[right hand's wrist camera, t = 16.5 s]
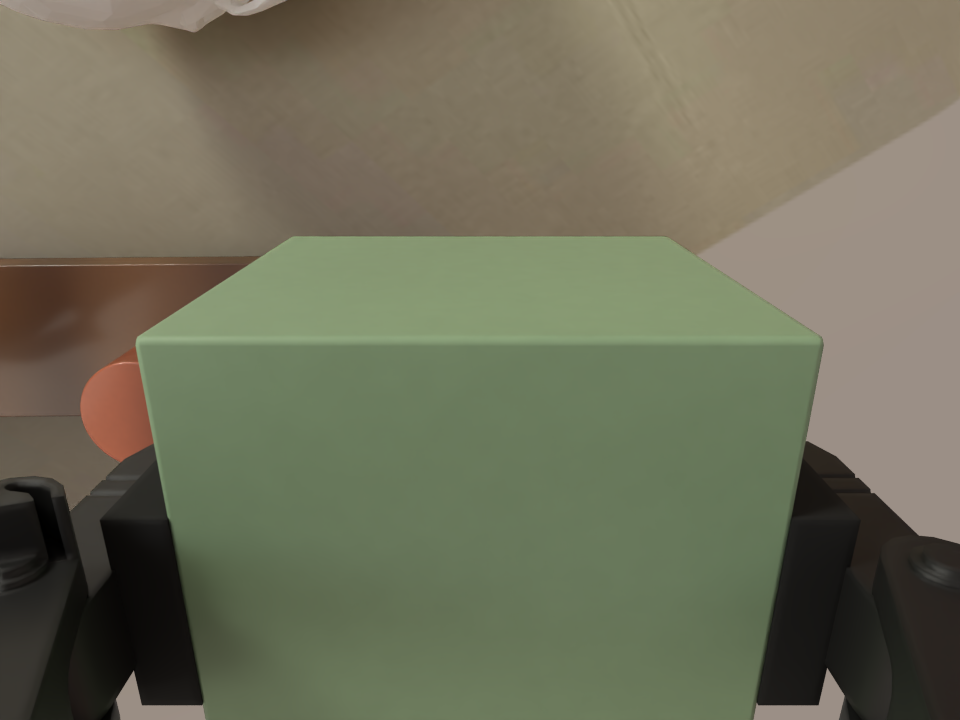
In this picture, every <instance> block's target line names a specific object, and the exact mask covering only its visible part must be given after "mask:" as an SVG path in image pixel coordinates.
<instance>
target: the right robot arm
mask: <svg viewBox="0 0 960 720" xmlns="http://www.w3.org/2000/svg"><path fill="white" fill-rule="evenodd" d="M827 668H828V670H829V671H830V673H831V674H832V676H833V677H834V679H835V681H836V682H837V684H838V685H839V687H840V689H841V690H842V692H843V693H844V695H845V698H844V702H843V706H842V710H841V714H840V718H839V720H960V544H958V543H954V542H950V541H946V540H942V539H938V538H935V537H926V536H919V535H917V534H916V533H915V532H914V531H913V530H912V529H911V528H910V527H909V526H908V525H907V524H906V523H905V522H904V521H903V520H902V519H901V518H900V517H899V516H898V515H897V514H896V513H895V512H894V511H892V510H891V509H890V508H889V507H888V506H887V505H886V504H885V503H884V502H883V501H882V500H881V499H880V498H879V497H878V496H877V495H876V494H875V493H871V492H870V488H869V487H867V486H866V485H865V484H864V483H863V482H862V481H861V480H860V479H859V478H855V474H854V473H853V472H852V471H851V470H850V469H849V468H848V467H847V466H846V465H845V464H844V463H842V462H841V461H840V460H839V459H838V458H837V457H836V456H834V455H832V454H830V453H829V452H827V451H825V450H823V449H821V448H819V447H817V446H816V445H814V444H812V443H810V442H808V441H806V442H805V447H804V453H803V458H802V463H801V469H800V474H799V479H798V484H797V490H796V495H795V500H794V506H793V511H792V516H791V522H790V527H789V532H788V538H787V543H786V548H785V554H784V559H783V564H782V570H781V575H780V580H779V586H778V591H777V596H776V602H775V607H774V612H773V617H772V623H771V628H770V633H769V639H768V644H767V649H766V655H765V660H764V665H763V671H762V676H761V681H760V687H759V692H758V697H757V704H758V705H819V701H820V696H821V692H822V687H823V683H824V679H825V675H826V670H827ZM133 671H134V672H135V677H136V681H137V686H138V690H139V694H140V699H141V703H142V705H202V704H203V698H202V693H201V688H200V682H199V677H198V672H197V666H196V661H195V656H194V650H193V645H192V640H191V635H190V629H189V624H188V619H187V613H186V608H185V603H184V597H183V592H182V587H181V581H180V576H179V571H178V565H177V560H176V555H175V549H174V544H173V539H172V533H171V528H170V523H169V518H168V516H167V511H166V505H165V500H164V495H163V490H162V484H161V479H160V474H159V468H158V463H157V458H156V452H155V447H154V444H151V445H150V446H148V447H146V448H144V449H142V450H140V451H138V452H137V453H135V454H133V455H131V456H129V457H127V458H125V459H124V460H123V461H122V462H121V463H120V464H119V465H118V466H117V467H116V468H115V469H114V470H113V471H112V472H111V473H110V474H109V475H108V476H106V480H102V481H101V482H100V483H99V484H98V485H97V486H96V487H95V488H94V489H93V490H92V491H91V495H90V496H86V497H85V498H84V499H83V500H82V501H81V502H80V503H79V504H78V505H77V506H75V507H74V508H73V509H72V510H71V511H69V507H68V503H67V499H66V495H65V491H64V487H63V485H62V484H60V483H59V482H57V481H55V480H54V479H51V478H44V477H36V476H31V477H17V478H8V479H4V480H0V720H120V714H119V710H118V706H117V702H116V698H117V696H118V695H119V693H120V691H121V690H122V688H123V687H124V685H125V683H126V682H127V680H128V679H129V677H130V675H131V674H132V672H133Z"/></svg>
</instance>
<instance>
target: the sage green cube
mask: <svg viewBox="0 0 960 720" xmlns="http://www.w3.org/2000/svg"><path fill="white" fill-rule="evenodd" d="M135 346H136V351H137V357H138V362H139V367H140V373H141V378H142V383H143V389H144V394H145V399H146V405H147V410H148V415H149V420H150V426H151V431H152V436H153V442H154V447H155V452H156V458H157V463H158V468H159V474H160V479H161V484H162V490H163V495H164V500H165V505H166V511H167V516H168V518H169V523H170V528H171V533H172V539H173V544H174V549H175V555H176V560H177V565H178V571H179V576H180V581H181V587H182V592H183V597H184V603H185V608H186V613H187V619H188V624H189V629H190V635H191V640H192V645H193V650H194V656H195V661H196V666H197V672H198V677H199V682H200V688H201V693H202V698H203V707H204V713H205V718H206V720H753V719H754V713H755V708H756V703H757V697H758V692H759V687H760V681H761V676H762V671H763V665H764V660H765V655H766V649H767V644H768V639H769V633H770V628H771V623H772V617H773V612H774V607H775V602H776V596H777V591H778V586H779V580H780V575H781V570H782V564H783V559H784V554H785V548H786V543H787V538H788V532H789V527H790V522H791V516H792V511H793V506H794V500H795V495H796V490H797V484H798V479H799V474H800V469H801V463H802V458H803V453H804V447H805V442H806V437H807V431H808V426H809V421H810V415H811V410H812V405H813V399H814V394H815V389H816V383H817V378H818V373H819V367H820V362H821V357H822V351H823V346H824V345H823V339H822V337H821V336H819V335H818V334H816V333H815V332H813V331H812V330H810V329H809V328H807V327H805V326H804V325H802V324H801V323H799V322H798V321H796V320H795V319H793V318H792V317H790V316H789V315H787V314H785V313H784V312H782V311H781V310H779V309H778V308H776V307H775V306H773V305H772V304H770V303H769V302H767V301H765V300H764V299H762V298H761V297H759V296H758V295H756V294H755V293H753V292H752V291H750V290H748V289H747V288H745V287H744V286H742V285H741V284H739V283H738V282H736V281H735V280H733V279H731V278H730V277H728V276H727V275H725V274H724V273H722V272H721V271H719V270H718V269H716V268H715V267H713V266H712V265H710V264H708V263H707V262H705V261H704V260H702V259H701V258H699V257H698V256H696V255H695V254H693V253H692V252H690V251H688V250H687V249H685V248H684V247H682V246H681V245H679V244H678V243H676V242H675V241H673V240H672V239H670V238H668V237H666V236H294V237H291V238H289V239H288V240H286V241H285V242H283V243H282V244H280V245H279V246H277V247H275V248H274V249H272V250H271V251H269V252H268V253H266V254H265V255H263V256H262V257H260V258H258V259H257V260H255V261H254V262H252V263H251V264H249V265H248V266H246V267H245V268H243V269H241V270H240V271H238V272H237V273H235V274H234V275H232V276H231V277H229V278H228V279H226V280H224V281H223V282H221V283H220V284H218V285H217V286H215V287H214V288H212V289H211V290H209V291H208V292H206V293H204V294H203V295H201V296H200V297H198V298H197V299H195V300H194V301H192V302H191V303H189V304H187V305H186V306H184V307H183V308H181V309H180V310H178V311H177V312H175V313H174V314H172V315H170V316H169V317H167V318H166V319H164V320H163V321H161V322H160V323H158V324H157V325H155V326H153V327H152V328H150V329H149V330H147V331H146V332H144V333H143V334H141V335H140V336H138V337H137V339H136V345H135Z"/></svg>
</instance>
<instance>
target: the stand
mask: <svg viewBox="0 0 960 720" xmlns="http://www.w3.org/2000/svg"><path fill="white" fill-rule="evenodd" d="M260 257H262V256H254V257H142V258H31V259H0V417H11V416H81V417H82V421H83V424H84V426H85V429H86V431H87V433H88V434H89V436H90V437H91V439H92V440H93V441H94V443H95V444H96V445H97V446H98V447H99V448H100V449H101V450H102V451H104V452H105V453H106V454H107V455H109V456H110V457H112V458H113V459H115V460H117V461H119V462H122V461H123V460H124V459H125V458H127V457H129V456H131V455H133V454H135V453H137V452H138V451H140V450H142V449H144V448H146V447H148V446H150V445H151V444H154V442H153V436H152V431H151V426H150V420H149V415H148V410H147V405H146V399H145V394H144V389H143V383H142V378H141V373H140V367H139V362H138V357H137V351H136V346H135V345H136V339H137V337H138V336H140V335H141V334H143V333H144V332H146V331H147V330H149V329H150V328H152V327H153V326H155V325H157V324H158V323H160V322H161V321H163V320H164V319H166V318H167V317H169V316H170V315H172V314H174V313H175V312H177V311H178V310H180V309H181V308H183V307H184V306H186V305H187V304H189V303H191V302H192V301H194V300H195V299H197V298H198V297H200V296H201V295H203V294H204V293H206V292H208V291H209V290H211V289H212V288H214V287H215V286H217V285H218V284H220V283H221V282H223V281H224V280H226V279H228V278H229V277H231V276H232V275H234V274H235V273H237V272H238V271H240V270H241V269H243V268H245V267H246V266H248V265H249V264H251V263H252V262H254V261H255V260H257V259H258V258H260Z"/></svg>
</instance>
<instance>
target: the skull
mask: <svg viewBox="0 0 960 720" xmlns="http://www.w3.org/2000/svg"><path fill="white" fill-rule="evenodd" d="M248 1H249V0H0V4H1V5H3V6H6V7H8V8H10V9H12V10H14V11H17V12H19V13H22V14H25V15H28V16H31V17H34V18H37V19H40V20H44V21H48V22H53V23H58V24H63V25H67V26H72V27H77V28H82V29H112V30H119V29H124V28H129V27H135V26H140V25H146V24H157V25H164V26H169V27H173V28H178V29H182V30H187V31H190V32H197V31H199V30H200V29H201V28H203V27H204V26H205V25H206V24H208V23H209V22H211V21H213V20H214V19H216V18H218V17H219V16H221V15H223V14H224V13H225V12H226V11H227V12H228V13H230V14H232V15H244V16H248V15H251V14H255V13H258V12H261V11H264V10H266V9H268V8H271V7H273V6H275V5H277V4H280V3H282V2H284V1H287V0H253V1H251V2H249V3H247V2H248ZM246 3H247V4H246Z"/></svg>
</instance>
